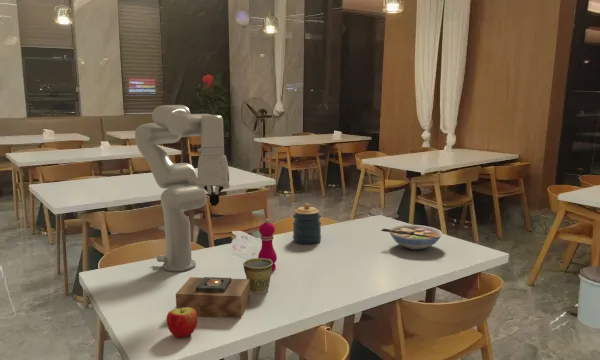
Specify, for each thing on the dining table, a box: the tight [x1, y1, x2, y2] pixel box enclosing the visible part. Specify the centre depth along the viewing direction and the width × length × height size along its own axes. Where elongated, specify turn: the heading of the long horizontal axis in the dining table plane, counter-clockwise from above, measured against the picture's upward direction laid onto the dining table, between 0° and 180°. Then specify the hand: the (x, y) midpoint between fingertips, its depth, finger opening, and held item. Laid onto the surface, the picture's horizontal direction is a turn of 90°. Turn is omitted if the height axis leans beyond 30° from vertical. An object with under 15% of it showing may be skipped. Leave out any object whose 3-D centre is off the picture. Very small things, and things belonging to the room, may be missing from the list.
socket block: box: [175, 276, 251, 319], centre depth 156 cm, size 20×14×8 cm
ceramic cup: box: [242, 257, 273, 295], centre depth 171 cm, size 13×10×10 cm
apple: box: [166, 304, 199, 339], centre depth 138 cm, size 8×8×10 cm
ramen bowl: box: [380, 224, 443, 251], centre depth 217 cm, size 25×23×8 cm
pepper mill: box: [257, 218, 278, 272], centre depth 190 cm, size 7×7×20 cm
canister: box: [292, 203, 322, 245], centre depth 227 cm, size 13×13×18 cm
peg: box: [207, 279, 221, 286], centre depth 156 cm, size 4×4×8 cm
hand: (214, 204), depth 170 cm, fingers closed
